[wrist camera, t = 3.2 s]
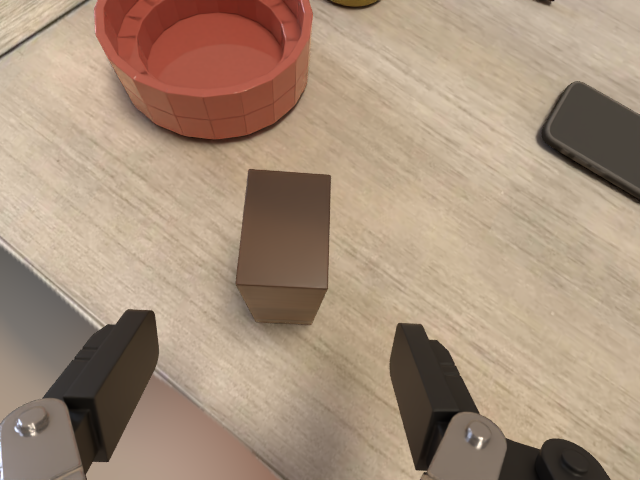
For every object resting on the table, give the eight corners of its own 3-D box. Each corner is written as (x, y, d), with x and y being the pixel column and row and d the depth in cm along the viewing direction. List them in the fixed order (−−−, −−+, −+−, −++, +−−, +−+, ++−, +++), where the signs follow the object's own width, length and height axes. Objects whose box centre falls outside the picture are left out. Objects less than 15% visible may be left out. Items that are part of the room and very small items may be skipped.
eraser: (311, 324, 24) (328, 289, 14) (255, 322, 24) (235, 284, 14) (314, 249, 25) (331, 174, 16) (262, 246, 25) (248, 168, 16)
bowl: (171, 174, 27) (146, 130, 22) (97, 36, 30) (62, -27, 25) (341, 99, 30) (351, 47, 25) (256, -16, 34) (251, -80, 29)
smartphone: (725, 243, 27) (541, 134, 29) (711, 247, 28) (533, 141, 30) (745, 172, 30) (574, 74, 31) (732, 178, 31) (566, 82, 32)
